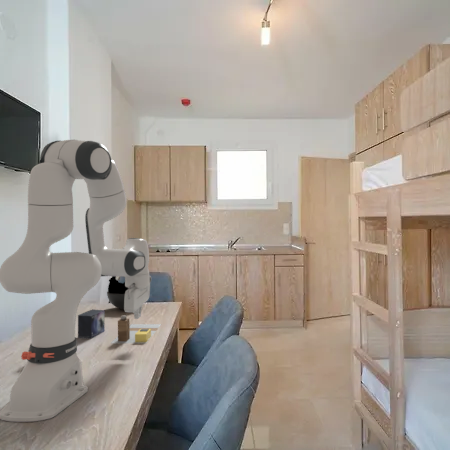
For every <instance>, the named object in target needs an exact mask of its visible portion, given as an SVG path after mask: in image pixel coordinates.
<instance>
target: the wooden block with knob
mask: <svg viewBox="0 0 450 450" xmlns="http://www.w3.org/2000/svg"><path fill="white" fill-rule="evenodd" d="M127 317H128V316H127V314H126V315H125V314H124V315H123V314H122V315H120V318H119V319H118V320H117V337H118V341H128V340H129V339H130V325H131V324H130V318H127Z"/></svg>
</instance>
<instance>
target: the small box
mask: <svg viewBox="0 0 450 450" xmlns="http://www.w3.org/2000/svg"><path fill="white" fill-rule="evenodd" d="M105 311H106V310H104V309H103V310H102V309H90V310H88V311H85V312H83V313H81V314H78V315H77V338H78V339H87V340H88V339H90V340H91V339H93V338H96V336H99V335H101V334H102V333H104V332H105V331H106V330H105V327H106V326H105Z"/></svg>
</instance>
